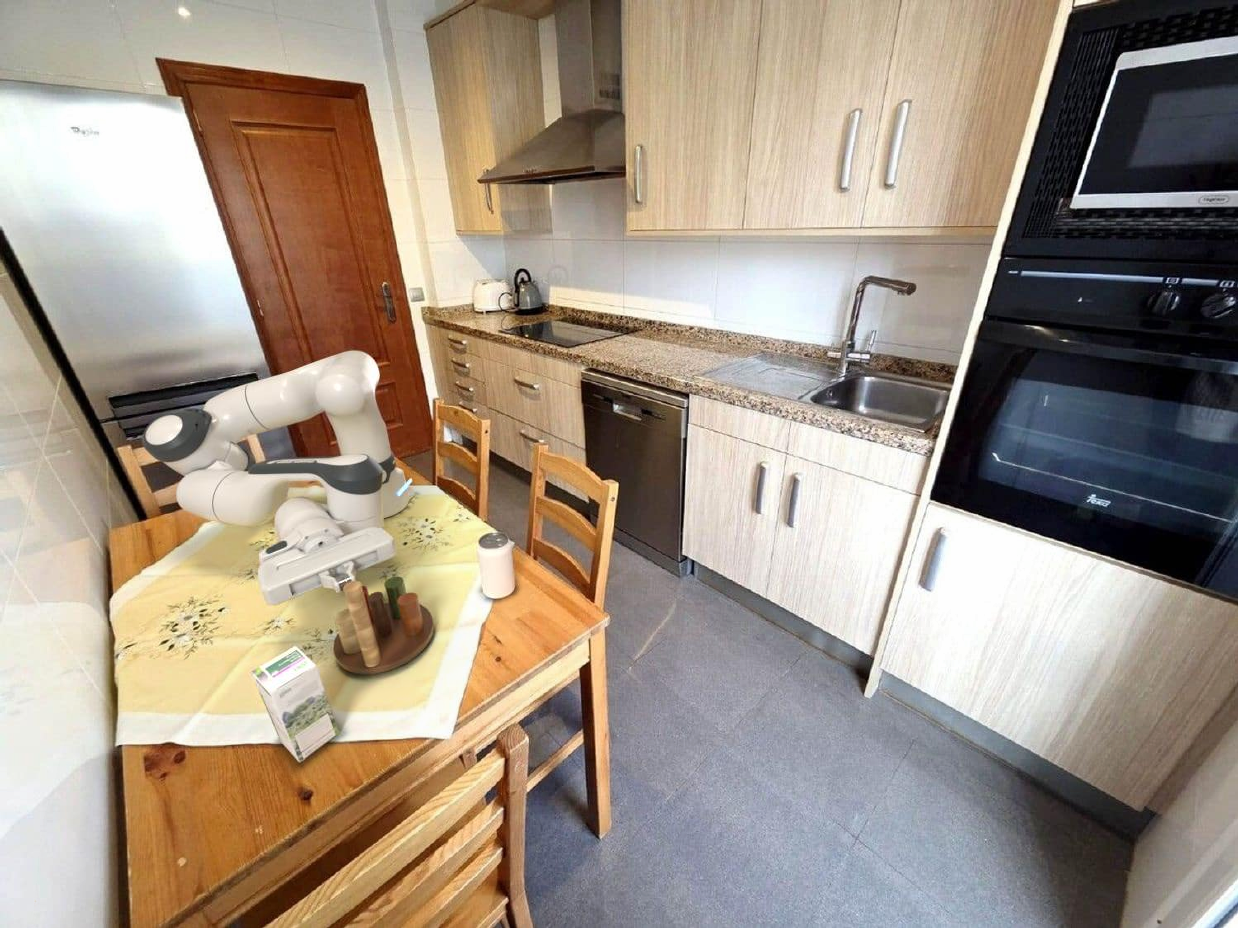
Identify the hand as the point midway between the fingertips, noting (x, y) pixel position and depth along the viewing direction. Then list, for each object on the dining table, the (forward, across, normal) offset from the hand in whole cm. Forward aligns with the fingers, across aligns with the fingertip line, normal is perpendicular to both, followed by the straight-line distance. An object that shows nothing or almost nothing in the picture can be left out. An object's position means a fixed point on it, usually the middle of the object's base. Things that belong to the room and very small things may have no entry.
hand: (346, 585), depth 80 cm
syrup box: (+10, +11, -15) cm, 22 cm away
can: (+1, -26, -15) cm, 30 cm away
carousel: (0, -4, -14) cm, 14 cm away
